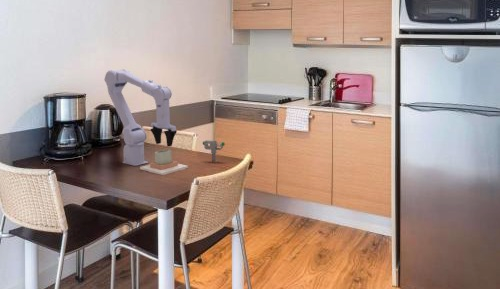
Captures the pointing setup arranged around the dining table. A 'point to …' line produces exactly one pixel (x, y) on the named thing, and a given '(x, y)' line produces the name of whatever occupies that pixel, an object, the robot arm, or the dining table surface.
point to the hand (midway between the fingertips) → (163, 144)
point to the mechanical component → (212, 147)
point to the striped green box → (163, 157)
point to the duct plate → (164, 168)
